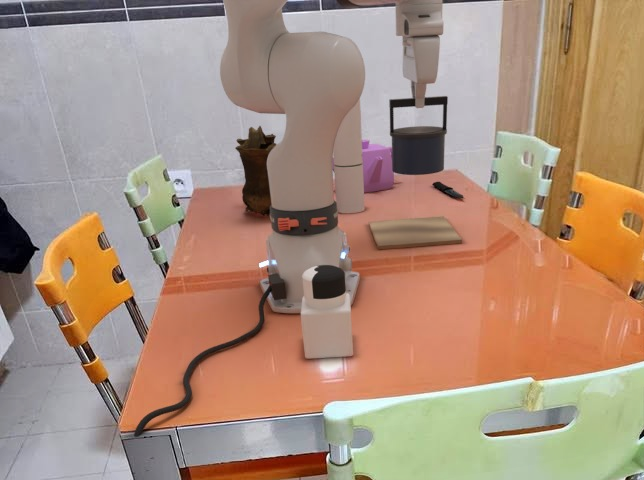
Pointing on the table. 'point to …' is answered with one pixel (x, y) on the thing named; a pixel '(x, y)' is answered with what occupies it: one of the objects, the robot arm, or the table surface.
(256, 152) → the pottery vessel
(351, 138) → the cylindrical container
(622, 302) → the table surface
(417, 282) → the table surface
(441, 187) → the knife
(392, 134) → the pot
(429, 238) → the cutting board
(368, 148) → the teakettle
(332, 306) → the medicine bottle
